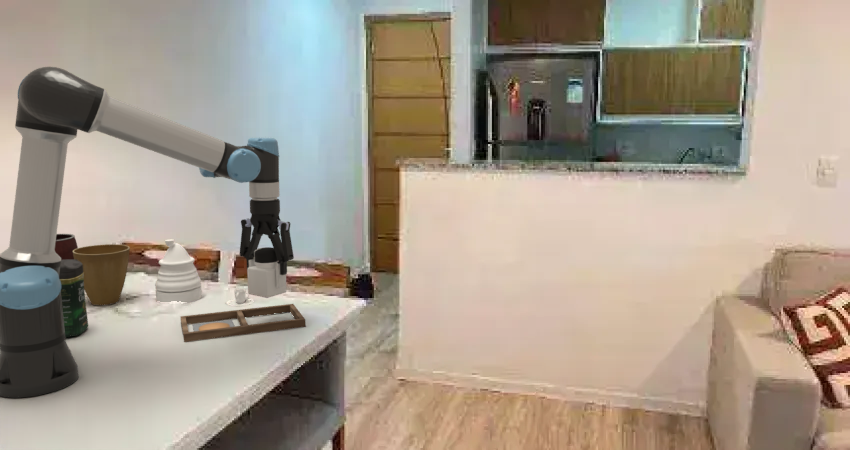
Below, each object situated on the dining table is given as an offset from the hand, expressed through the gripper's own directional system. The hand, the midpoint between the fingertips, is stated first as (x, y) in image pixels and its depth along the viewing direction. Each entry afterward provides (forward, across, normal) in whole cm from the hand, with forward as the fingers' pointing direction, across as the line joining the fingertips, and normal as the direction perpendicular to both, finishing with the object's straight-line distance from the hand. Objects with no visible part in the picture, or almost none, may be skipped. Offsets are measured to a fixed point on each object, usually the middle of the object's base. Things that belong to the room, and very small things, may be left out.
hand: (267, 284), depth 175 cm
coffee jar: (+11, +42, +26) cm, 50 cm away
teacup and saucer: (+11, +17, -15) cm, 25 cm away
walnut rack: (+10, +5, +5) cm, 12 cm away
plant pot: (+11, +56, +2) cm, 57 cm away
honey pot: (+11, +39, -10) cm, 41 cm away
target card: (+10, +10, +10) cm, 17 cm away
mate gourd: (+11, +80, -2) cm, 81 cm away
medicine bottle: (+2, 0, 0) cm, 2 cm away
